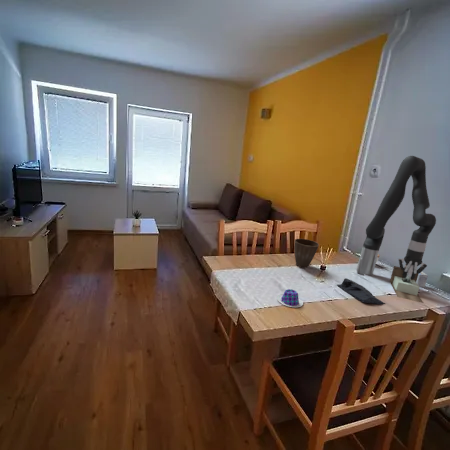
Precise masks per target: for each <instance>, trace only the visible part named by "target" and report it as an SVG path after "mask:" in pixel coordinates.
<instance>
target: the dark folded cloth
mask: <svg viewBox="0 0 450 450" xmlns="http://www.w3.org/2000/svg"><path fill="white" fill-rule="evenodd" d="M337 287H338V288H340V289H341V290H342V291H344V292H345V293H347V294H349V295H350V296H352V297H353V298H355V299H356V300H358V301H359V302H361V303H364V304H373V305H385V302H383V301H382V300H380V299H379V298H378V297H376V296H375V295H373V293H372V292H371V291H370V290H369V289H368V288H366V287H364V286H363V285H361V284H359V283H357V282H355V281H354V280H352V279H348V278H345V277H344V279H343V281H342V282H341V284H338V283H337Z"/></svg>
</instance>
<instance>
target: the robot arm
mask: <svg viewBox="0 0 450 450" xmlns="http://www.w3.org/2000/svg"><path fill="white" fill-rule="evenodd" d="M426 168H427V166H426V162H425V160H424V159H423V158H420V157H418V156H415V155H408V156H406V157H405V158H403V159H402V161H401V163H400V165H399V168H398V170H397V172H396V175H395V177H394V178H393V181H392V183H391V184H390V186H389V188H388V190H387V192H386V193H385V194H384V197H383V198H382V200H381V202H380V204H379V206H378V208H377V211H376V213H375V215H374V216H373V218H372V220H371V221H370V223H369V224H367V226H366V228H365V234H366V236H365V240H364V242H363V245H362V249H361V252H360V256H359V258H358V263H357V266H356V273H357V274H359V275H362V276H365V275H366V276H373V275H374V271H375V267H376V264H377V263H376V260H377V256H378V254H379V251H380V249H381V246H382V242H383V239H384V236H385V232H386V231H385V230H386V229H385V227H386V225H387V223H388V221H389V220H390V219H391V217H392V216H393V215H394V214H395V212H396V211H397V210H398V208H399V207H400V205H401V204H402V202H403V200H404V198H405V195H406V189H407V188H406V187H407V184H408V182H409V179H410V177H411V178H412V191H411V200H412V203H413V204H412V205H413V210H412V211H413V212H412V221H413V223H414V225H416V226H417V227H418V229H415V230H414V231H412V233H411V237H410V238H411V239H410V241H409V243H408V246H407V250H406V253H405V256H404V258H397V259H398V264H399V267H400V268H401V270H403V274H402V276H403V277H404V278H406V274H407V270H408V268H409V267H410V265H414V271H413V274H412V278H411V279H412V280H413V279H414V278H415V275H416V273H421V272H424V270H425V269H426V268H427V267H428V265H427V264H426V263H425V262H423V257H424V254H425V251H426V247H427V242H428V238H429V236H430V234H431V233H432V230H433V229H434V227H435V226H436V224H437V219H436V216H435V215H434V214H432V213H426V210H427V209H429V208H430V199H429V196H428V189H427V178H426V173H427V172H426V171H427V170H426ZM404 262H405V265H403V263H404ZM418 266H420V267H418Z"/></svg>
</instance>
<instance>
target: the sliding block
mask: <svg viewBox="0 0 450 450" xmlns="http://www.w3.org/2000/svg"><path fill="white" fill-rule="evenodd" d="M393 286H394V287H395V289H396V291H400V292H404V293H409V294H413V295H417V294H418V295H419V290H420V287H419V286H418V284H417V283H416V282H415V280H411V281H410V283H406V282H404V278H402V277H397V276H395V277H394V281H393Z"/></svg>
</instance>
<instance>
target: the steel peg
mask: <svg viewBox="0 0 450 450" xmlns="http://www.w3.org/2000/svg"><path fill="white" fill-rule="evenodd" d="M413 271H414V265H410V267H409V268H408V270H407V274H406V278H404V282H406V283H410V281H411V278H412V274H413Z"/></svg>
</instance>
